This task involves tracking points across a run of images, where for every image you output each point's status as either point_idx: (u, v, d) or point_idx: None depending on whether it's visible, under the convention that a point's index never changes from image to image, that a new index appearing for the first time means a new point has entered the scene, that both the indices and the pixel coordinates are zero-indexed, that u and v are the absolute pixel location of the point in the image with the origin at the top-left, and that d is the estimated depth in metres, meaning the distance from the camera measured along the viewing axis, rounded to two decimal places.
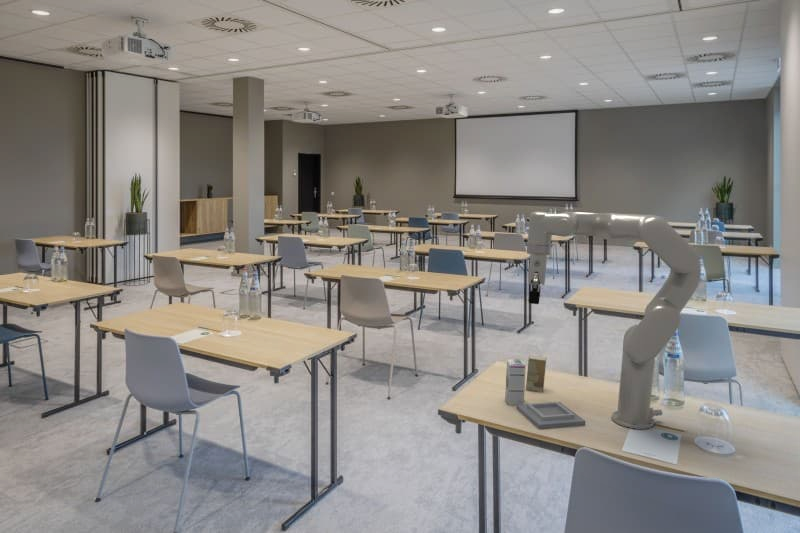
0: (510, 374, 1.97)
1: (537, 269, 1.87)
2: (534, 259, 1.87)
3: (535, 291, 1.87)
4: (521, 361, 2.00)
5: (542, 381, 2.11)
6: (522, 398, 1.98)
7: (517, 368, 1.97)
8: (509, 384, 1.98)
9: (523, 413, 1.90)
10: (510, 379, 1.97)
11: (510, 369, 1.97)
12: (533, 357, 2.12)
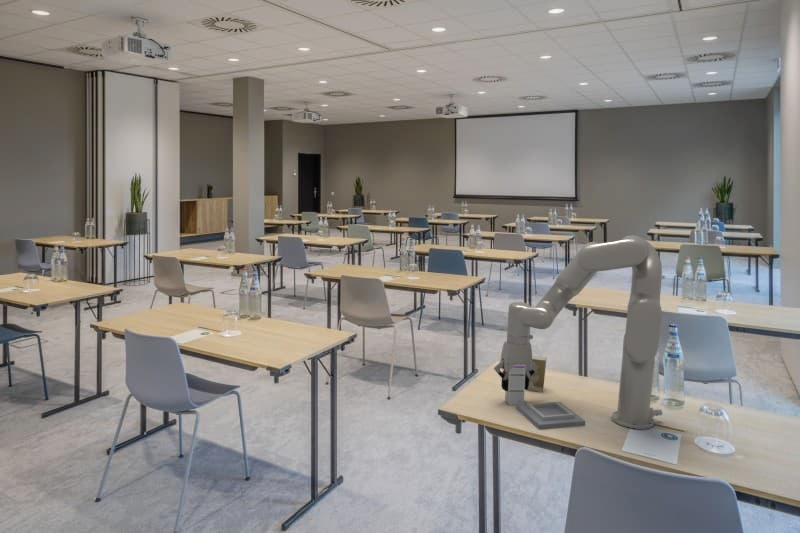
0: (510, 374, 1.97)
1: None
2: None
3: None
4: None
5: (542, 381, 2.11)
6: (522, 398, 1.98)
7: (517, 368, 1.97)
8: (509, 384, 1.98)
9: (523, 413, 1.90)
10: (510, 379, 1.97)
11: None
12: (533, 357, 2.12)
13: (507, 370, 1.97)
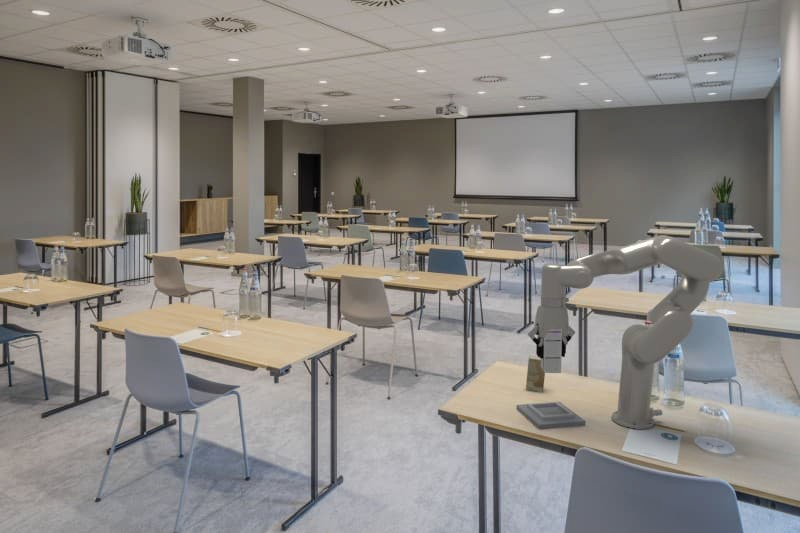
0: (545, 340, 1.84)
1: None
2: None
3: None
4: None
5: (542, 381, 2.11)
6: (559, 365, 1.85)
7: (553, 333, 1.84)
8: (545, 350, 1.85)
9: (523, 413, 1.90)
10: (546, 345, 1.85)
11: None
12: (533, 357, 2.12)
13: (542, 335, 1.84)
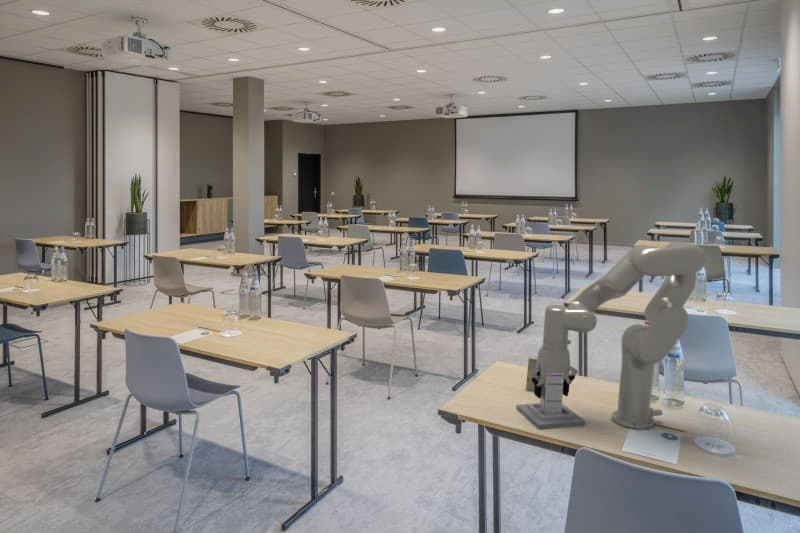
0: (547, 383, 1.85)
1: None
2: None
3: None
4: None
5: None
6: (560, 409, 1.86)
7: (554, 377, 1.84)
8: (546, 394, 1.85)
9: (523, 413, 1.90)
10: (547, 388, 1.85)
11: (547, 378, 1.85)
12: (533, 357, 2.12)
13: (544, 377, 1.84)
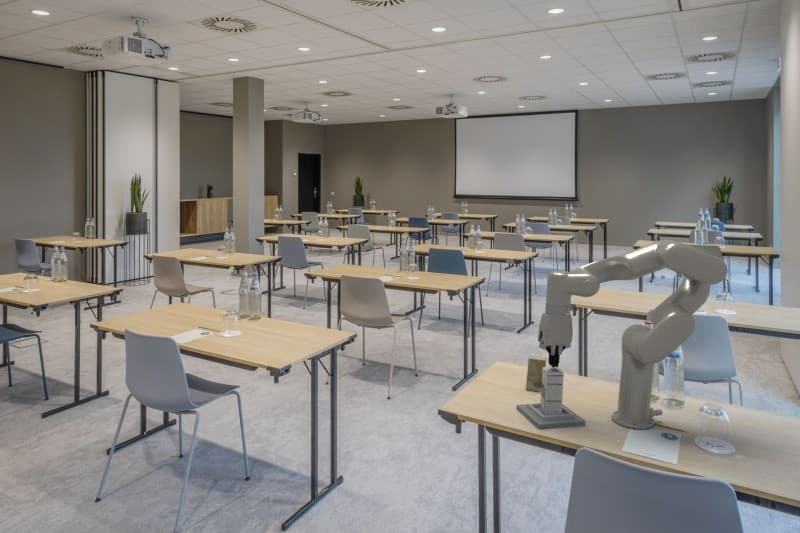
0: (547, 383, 1.85)
1: None
2: None
3: None
4: (558, 369, 1.88)
5: None
6: (560, 409, 1.86)
7: (555, 377, 1.84)
8: (546, 394, 1.85)
9: (523, 413, 1.90)
10: (547, 389, 1.85)
11: (547, 378, 1.84)
12: (533, 357, 2.12)
13: (546, 343, 1.83)
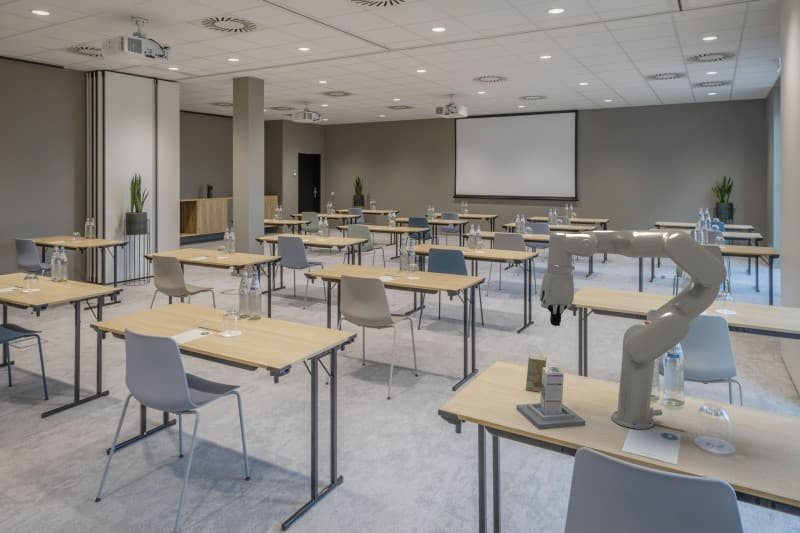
0: (547, 383, 1.85)
1: None
2: None
3: None
4: (558, 369, 1.88)
5: None
6: (560, 409, 1.86)
7: (555, 377, 1.84)
8: (546, 394, 1.85)
9: (523, 413, 1.90)
10: (547, 389, 1.85)
11: (547, 378, 1.84)
12: (533, 357, 2.12)
13: (548, 302, 1.87)
